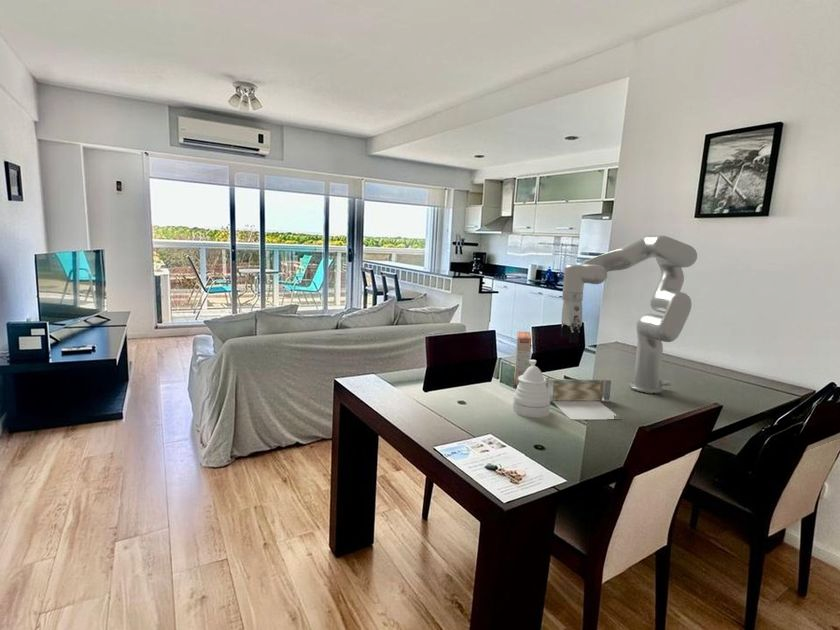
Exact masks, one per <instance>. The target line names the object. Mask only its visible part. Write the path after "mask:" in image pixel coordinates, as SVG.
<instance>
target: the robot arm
mask: <svg viewBox="0 0 840 630" xmlns="http://www.w3.org/2000/svg"><path fill="white" fill-rule="evenodd" d="M651 258H654V259H655V261H656V262H657V264H658V266H659V269H660V279H659V281H658V283H657V285H656V288H655V290H654V292H653V295H652V297H651V299H650V308H651V309H652V311H655V312H658V313H661V314H664V315H659V314H654V313H646V314H643V315H642V316H640V317H639V318H638V320H637V322H636V335H637V345H636V353H635V365H634V374H633V375H634V376H633V381H632V382H630V383H629V385H628V387H629V386H630V387H631V388H632V389H631V388H630V387H629V388H630V389H631V390H633V389H635V390H637V391H636V392H639V391H641V392H640V393H643V392H645V394H653V393H655V394H660V393H662V392H663V390H664V389H663V387H664V386H665V387H667V386H668V387H670V386H671V385H672V384H671V381H670V380H664V379H661V377H660V376H661V368H662V359H663V349H664V346H663V343H664V342H665V343H672V342H674V341H675V340H676V339H678V338H679V336H680V335H681V333H682V331H683V329H684V327H685V324H686V323H687V322H686V321H687V320H688V317H689V315H690V313H691V311H692V304H693V303H692V299H691V297H690V296H689V295H688V294H687V293H686V292H683V291H682V288H683V285H684V280H685V275H684V271H683V269H682V268H689V267H692V266H693V265H694V264H695V262H696V261H697V259H698V252H697V250H696V249H695V248H694V246H692V245H690V244H687V243H684V242H682V241H679V240H677V239H674V238H672V237H670V236H666V235H646V236H642V237H640V238H638V239H636V240H634V241H632V242H630V243H628V244H626V245H623V246H622V247H619V248H617V249H615V250H611V251H608V252H605V253H601V254H598V255H597V256H594V257H592V258H589V259H587V260H585V261H583V262H581V263H580V264H567V265H565V267H564V269H563V270H564V271H563V272H564V273H563V285H562V298H561V299H562V301H563V303H562V309H561V325H560V326H561V330H560V331H561V332H560V337H561V338H569V343H572V344H579V339H580V338H579V337H580V330H581V327H582V324H583V300H584V298H583V297H584V288H585V287H584V286H585V285H584V284H590V285H599V284H602V283H604V282H605V281H606V279H607V277H608V272H613V271H614V272H615V271H622V270H628V269H630V268H632V267H634V266H636V265H638V264H641V263H642V262H645V261H646V260H648V259H651ZM635 390H634V391H635Z"/></svg>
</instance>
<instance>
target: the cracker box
mask: <svg viewBox="0 0 840 630" xmlns="http://www.w3.org/2000/svg"><path fill="white" fill-rule="evenodd" d="M515 346H516V348H515V361H514V362H515V363H514V386H518V384H519V382H520V381H519V380H518V377H519V376H521V375H523V374H524V372H525V371H526V370H527V369H528V368H529V367H530V366H531V365H530V363H529V360H531V352H532V351H531V348H532V335H531V331H530V332H529V331H517V333H516V345H515Z"/></svg>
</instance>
